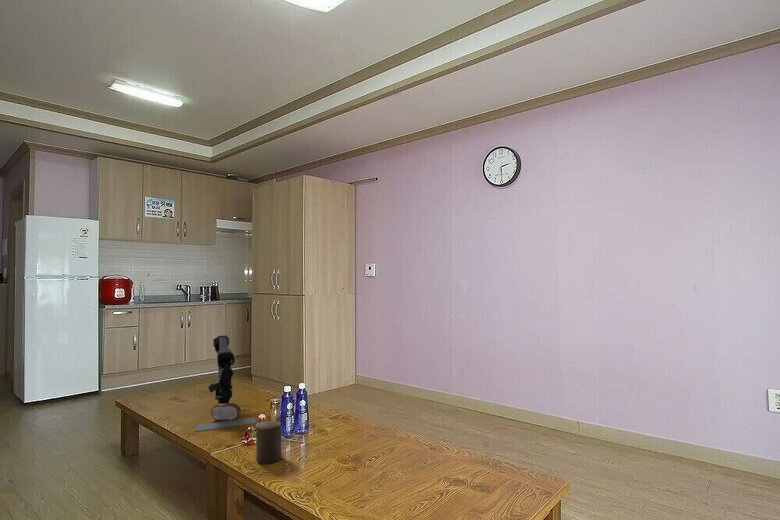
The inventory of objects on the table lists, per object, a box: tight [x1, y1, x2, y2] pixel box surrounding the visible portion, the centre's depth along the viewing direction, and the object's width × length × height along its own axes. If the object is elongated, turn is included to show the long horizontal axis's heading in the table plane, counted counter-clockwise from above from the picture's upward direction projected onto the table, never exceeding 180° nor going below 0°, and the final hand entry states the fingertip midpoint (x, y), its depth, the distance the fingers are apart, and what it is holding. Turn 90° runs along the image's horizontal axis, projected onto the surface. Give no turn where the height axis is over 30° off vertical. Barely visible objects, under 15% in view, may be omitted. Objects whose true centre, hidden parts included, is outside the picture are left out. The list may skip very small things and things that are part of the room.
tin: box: [210, 402, 242, 421], centre depth 230 cm, size 15×3×8 cm, turn 84°
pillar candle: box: [255, 420, 283, 465], centre depth 178 cm, size 10×10×15 cm
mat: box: [194, 416, 257, 432], centre depth 223 cm, size 10×28×1 cm, turn 109°
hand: (226, 406), depth 232 cm, fingers closed
